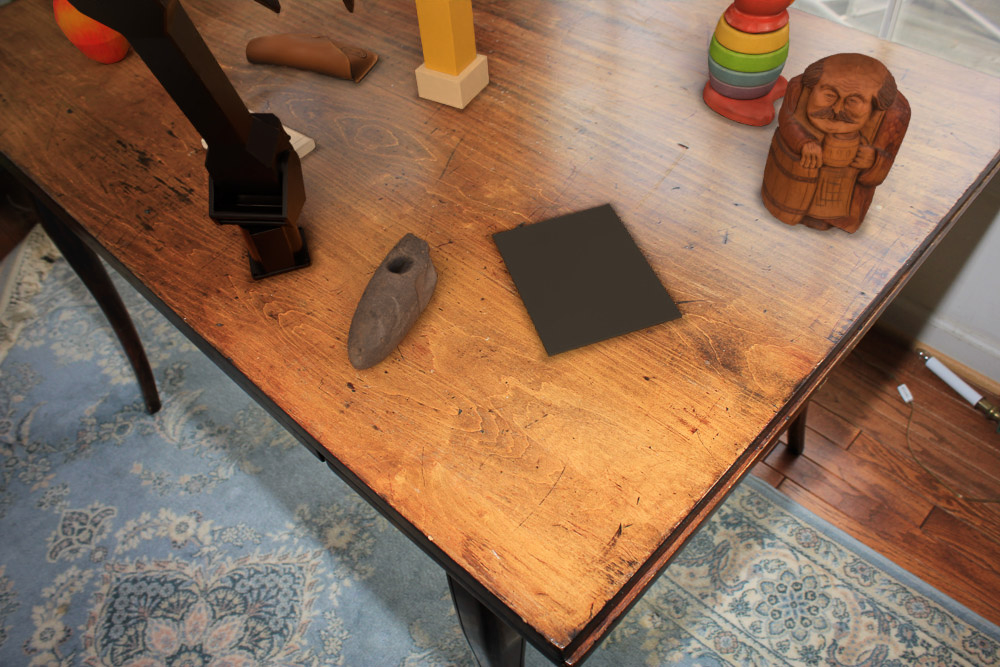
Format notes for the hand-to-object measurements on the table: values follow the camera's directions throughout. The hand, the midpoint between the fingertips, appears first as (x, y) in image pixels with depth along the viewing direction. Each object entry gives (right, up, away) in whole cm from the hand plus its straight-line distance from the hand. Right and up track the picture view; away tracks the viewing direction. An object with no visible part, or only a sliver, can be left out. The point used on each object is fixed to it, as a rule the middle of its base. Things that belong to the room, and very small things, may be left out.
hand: (315, 10), depth 90 cm
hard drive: (-9, -15, +6) cm, 19 cm away
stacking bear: (+54, -9, +7) cm, 55 cm away
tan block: (+16, -6, +12) cm, 21 cm away
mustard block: (+16, -3, +9) cm, 18 cm away
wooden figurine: (+57, -26, -8) cm, 63 cm away
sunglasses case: (-5, 0, +19) cm, 19 cm away
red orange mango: (-36, +2, +23) cm, 43 cm away
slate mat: (+31, -33, -12) cm, 47 cm away
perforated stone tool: (+12, -39, -15) cm, 43 cm away
